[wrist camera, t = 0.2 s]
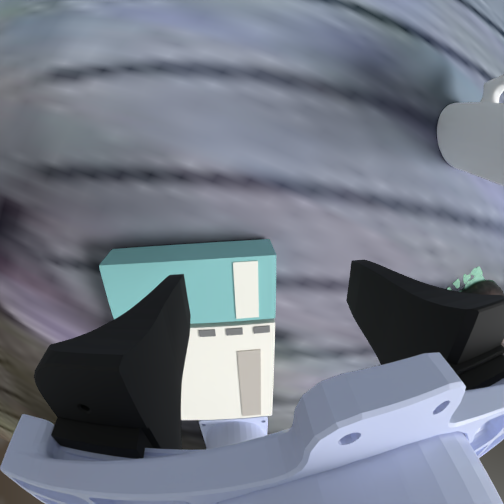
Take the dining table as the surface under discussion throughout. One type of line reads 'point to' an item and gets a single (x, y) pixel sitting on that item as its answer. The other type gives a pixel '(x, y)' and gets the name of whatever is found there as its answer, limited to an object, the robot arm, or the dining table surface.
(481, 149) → the mug
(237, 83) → the dining table surface
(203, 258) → the stub
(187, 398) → the ticket
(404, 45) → the dining table surface
